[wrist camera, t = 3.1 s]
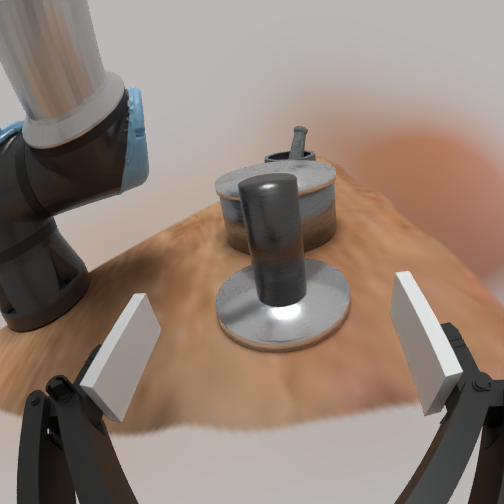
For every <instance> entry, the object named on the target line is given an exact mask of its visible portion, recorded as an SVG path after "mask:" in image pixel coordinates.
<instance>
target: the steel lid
mask: <svg viewBox="0 0 504 504" xmlns="http://www.w3.org/2000/svg"><path fill="white" fill-rule="evenodd" d="M238 191H239V196H240V202H241V207H242V213H243V218H244V224H245V229H246V235H247V241H248V246H249V252H250V257H251V263H252V265H250V266H248V267H246V268H244V269H242V270H240V271H238V272H237V273H235V274H234V275H232V276H231V277H230V278H229V279H228V280H226V282H225V283H224V284H223V285H222V286H221V288H220V289H219V291H218V293H217V296H216V302H215V306H216V311H217V315H218V318H219V321H220V324H221V327H222V329H223V330H224V332H225V333H226V334H227V335H228V336H229V337H230V338H231V339H232V340H234V341H235V342H237V343H238V344H240V345H242V346H244V347H247V348H250V349H253V350H257V351H263V352H276V353H281V352H291V351H297V350H301V349H305V348H308V347H311V346H313V345H316V344H318V343H320V342H322V341H324V340H325V339H327V338H329V337H330V336H331V335H333V334H334V333H335V332H336V331H337V330H338V329H339V328H340V327H341V325H342V324H343V323H344V321H345V319H346V317H347V315H348V311H349V302H350V288H349V284H348V282H347V280H346V278H345V277H344V276H343V274H342V273H341V272H340V271H338V270H337V269H336V268H334V267H333V266H331V265H329V264H327V263H324V262H321V261H318V260H314V259H309V258H305V257H304V245H303V233H302V222H301V212H300V202H299V193H298V183H297V177H296V176H295V175H293V174H288V173H270V174H263V175H258V176H253V177H250V178H247V179H245V180H243V181H241V182H240V183H238Z"/></svg>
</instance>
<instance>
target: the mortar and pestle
mask: <svg viewBox="0 0 504 504" xmlns="http://www.w3.org/2000/svg"><path fill="white" fill-rule="evenodd" d="M307 131H308V130H307V129H306V128H305V127H300V126H297V127H295V128H294V133H295V134H294V138H293V142H292V147H291V151H287V152H280V153H274V154H271V155H268V156H266V157H265V163H268V162H276V161H288V160H309V161H316V159H315V154H314V152H312V151H304V146H305V137H306V136H305V135H306V134H307Z"/></svg>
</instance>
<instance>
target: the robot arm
mask: <svg viewBox="0 0 504 504" xmlns="http://www.w3.org/2000/svg"><path fill="white" fill-rule="evenodd" d="M0 61H1V63H2V66H3V68H4V70H5V72H6V74H7V76H8V78H9V80H10V83H11V85H12V87H13V89H14V90H15V93H16V94H17V96H18V98H19V100H20V102H21V104H22V106H23V108H24V110H25V111H26V113H27V115H26V118H25V120H24V121H17V122H14V123H11V124H8V125H6V126H4V127H2V128H0V311H1V313H2V316H3V317H4V319H5V321H6V322H7V324H8V326H9V327H10V328H11V329H13V330H15V331H28V330H32V329H35V328H38V327H41V326H43V325H45V324H47V323H49V322H51V321H53V320H54V319H56V318H58V317H59V316H61V315H62V314H63V313H65V312H66V311H67V310H69V309H70V308H71V307H72V306H73V305H74V304H75V303H76V302H77V301H78V300H79V299H80V298H81V297H82V296H83V294H84V293H85V291H86V290H87V288H88V286H89V283H90V275H89V273H88V271H87V268H86V266H85V264H84V262H83V261H82V259H81V258H80V257H79V256H78V255H77V253H76V252H75V251H74V250H73V249H72V248H71V246H70V245H69V244H68V243H67V241H66V240H65V239H64V238H63V236H62V235H61V234H60V232H59V231H58V228H57V225H56V223H55V220H54V217H53V216H55V215H58V214H60V213H63V212H66V211H69V210H72V209H75V208H78V207H80V206H83V205H86V204H89V203H92V202H96V201H99V200H102V199H105V198H108V197H112V196H115V195H120V194H122V193H123V192H124V191H127V190H130V189H132V188H135V187H138V186H140V185H142V184H143V183H144V182H145V181H146V179H147V177H148V175H149V163H148V152H147V143H146V136H145V127H144V115H143V106H142V98H141V92H140V90H139V89H138V88H127V89H125V87H124V83H123V80H122V79H121V77H120V76H119V75H118V74H116V73H114V72H111V71H107V70H104V68H103V64H102V61H101V57H100V53H99V49H98V46H97V42H96V38H95V34H94V29H93V25H92V21H91V16H90V12H89V7H88V2H87V0H0ZM390 317H391V319H392V322H393V324H394V327H395V330H396V332H397V335H398V337H399V340H400V343H401V345H402V348H403V351H404V354H405V356H406V359H407V362H408V365H409V368H410V371H411V374H412V377H413V380H414V383H415V386H416V389H417V392H418V395H419V399H420V402H421V405H422V409H423V412H424V416H427V415H431V414H434V413H438V412H441V410H442V408H443V407H444V405H445V406H446V409H447V413H446V415H445V416H444V418H443V419H442V421H441V422H440V424H441V425H440V428H439V430H438V431H437V434H436V436H435V437H434V439H433V441H432V443H431V445H430V447H429V449H428V451H427V453H426V454H425V456H424V458H423V460H422V461H421V463H420V465H419V467H418V468H417V470H416V472H415V473H414V475H413V476H412V478H411V480H410V481H409V483H408V484H407V486H406V487H405V489H404V490H403V492H402V493H401V495H400V496H399V498H398V499H397V500H396V502H395V504H447V503H448V501H449V499H450V497H451V496H452V494H453V492H454V490H455V488H456V486H457V484H458V482H459V480H460V478H461V476H462V474H463V472H464V470H465V467H466V465H467V463H468V461H469V459H470V456H471V454H472V452H473V449H474V447H475V444H476V442H477V439H478V437H479V434H480V431H481V428H482V426H483V428H482V436H481V444H480V450H479V456H478V462H477V467H476V472H475V477H474V481H473V486H472V489H471V493H470V497H469V501H468V504H504V380H492V379H491V377H490V376H489V375H488V374H486V373H484V372H480V371H479V369H478V367H477V365H476V363H475V361H474V359H473V357H472V355H471V353H470V351H469V349H468V348H467V346H466V344H465V342H464V340H463V339H462V336H461V335H460V333H459V331H458V329H457V328H456V327H454V326H453V325H452V324H451V323H450V322H449V323H444V324H439V322H438V320H437V318H436V317H435V315H434V313H433V311H432V309H431V307H430V306H429V304H428V302H427V300H426V299H425V297H424V295H423V294H422V292H421V290H420V288H419V287H418V285H417V283H416V282H415V280H414V278H413V277H412V275H411V274H410V272H409V271H405V272H397V273H395V280H394V288H393V296H392V302H391V309H390ZM161 331H162V330H161V328H160V325H159V323H158V321H157V319H156V316H155V314H154V312H153V309H152V307H151V305H150V302H149V300H148V297H147V295H146V293H139V294H134V295H133V297H132V298H131V300H130V301H129V303H128V304H127V306H126V307H125V309H124V311H123V312H122V314H121V315H120V317H119V319H118V320H117V322H116V323H115V325H114V327H113V328H112V330H111V332H110V333H109V335H108V336H107V338H106V340H105V341H104V343H103V345H102V344H99V345H98V346H97V347H96V348H95V349H94V350H93V351H92V352H91V354H90V355H89V357H88V360H87V361H86V362H85V364H84V366H83V367H82V369H81V371H80V372H79V374H78V376H77V378H76V379H75V381H74V383H73V385H72V384H71V383H70V381H69V380H68V379H67V377H65V376H64V375H57V376H54V377H53V378H51V379H50V380H49V382H48V383H47V385H46V392H47V393H48V394H49V395H50V396H48V397H47V396H46V395H45V394H44V393H43V392H42V391H41V390H36V391H33V392H32V393H31V394H29V396H28V397H27V400H26V403H25V409H24V415H23V421H22V429H21V437H20V446H19V456H18V457H19V458H18V472H17V504H76V496H75V491H76V494H77V497H78V500H79V503H80V504H138V502H137V500H136V498H135V496H134V494H133V492H132V490H131V487H130V485H129V483H128V481H127V479H126V477H125V475H124V472H123V470H122V468H121V465H120V463H119V460H118V458H117V456H116V453H115V451H114V448H113V446H112V443H111V440H110V437H109V435H108V432H107V429H106V426H105V423H104V421H103V420H102V415H103V413H104V414H105V416H106V417H107V418H108V419H109V420H112V421H117V422H123V419H124V417H125V414H126V412H127V409H128V407H129V405H130V402H131V400H132V397H133V395H134V392H135V390H136V388H137V385H138V383H139V381H140V378H141V376H142V374H143V371H144V369H145V367H146V364H147V362H148V360H149V357H150V355H151V353H152V351H153V348H154V346H155V344H156V342H157V339H158V337H159V335H160V333H161ZM47 429H49V434H48V433H47Z"/></svg>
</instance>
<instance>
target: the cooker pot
mask: <svg viewBox="0 0 504 504" xmlns="http://www.w3.org/2000/svg"><path fill="white" fill-rule="evenodd" d="M270 173H288V174H293V175H295V176H296V177H297V183H298V193H299V202H300V212H301V222H302V233H303V245H304V252H306V251H309V250H312V249H314V248H317V247H319V246H321V245H323V244H324V243H326V242H327V241H329V240H330V239H331V238H332V237H333V235H334V234H335V232H336V209H335V191H334V181H335V180H336V171H335V168H334V167H333V166H332V165H330V164H327V163H324V162H318V161H309V160H288V161H276V162H268V163H262V164H257V165H252V166H249V167H244V168H241V169H238V170H235V171H232V172H230V173H227V174H225V175H223V176H221V177H220V178H219V179H217V180H216V182H215V188H216V193H217V194H218V195H219V196H220V201H221V206H222V211H223V216H224V221H225V226H226V230H227V235H228V240H229V243H230V244H231V246H232V247H233V248H235V249H236V250H238V251H240V252H243V253H246V254H250V252H249V246H248V241H247V235H246V229H245V224H244V218H243V213H242V207H241V202H240V196H239V191H238V183H240V182H241V181H243V180H245V179H247V178H250V177H253V176H258V175H263V174H270Z"/></svg>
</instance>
